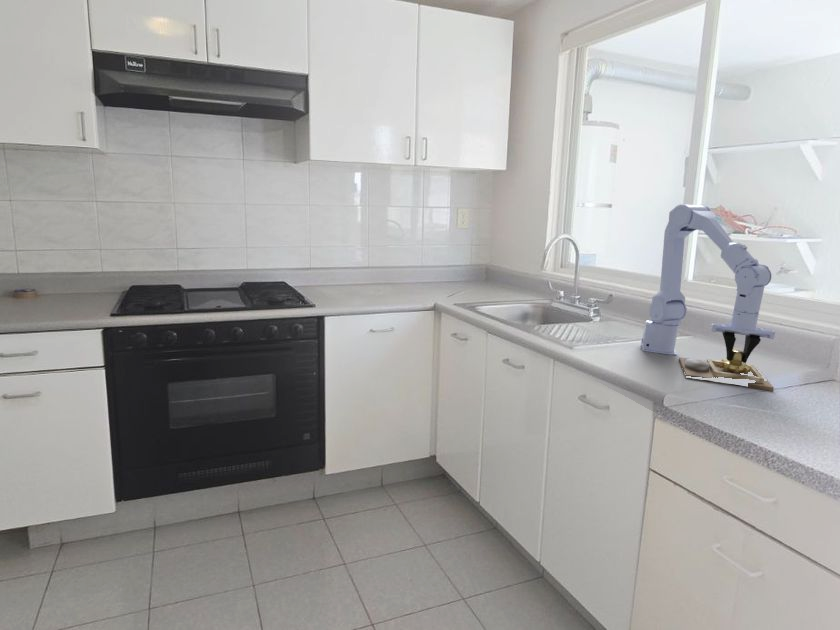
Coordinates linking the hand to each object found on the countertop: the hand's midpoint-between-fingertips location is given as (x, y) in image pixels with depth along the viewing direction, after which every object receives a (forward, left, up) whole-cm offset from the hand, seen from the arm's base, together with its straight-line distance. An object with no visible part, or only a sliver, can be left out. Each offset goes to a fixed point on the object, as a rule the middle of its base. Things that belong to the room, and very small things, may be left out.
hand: (736, 360), depth 146 cm
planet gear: (0, 0, -2) cm, 2 cm away
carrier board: (-2, 0, -4) cm, 5 cm away
